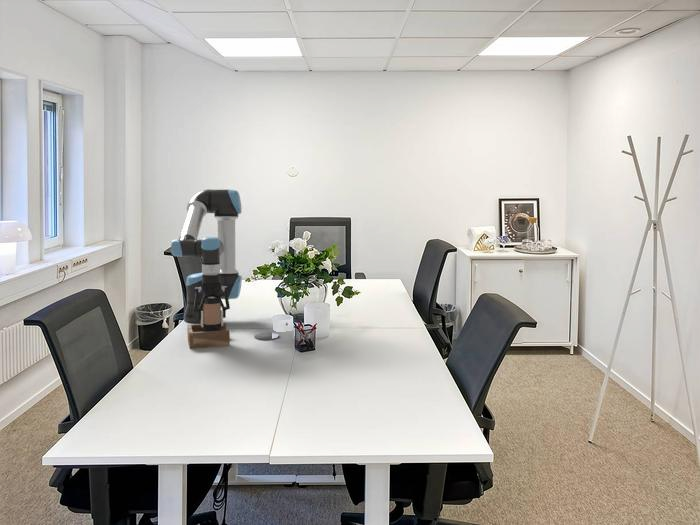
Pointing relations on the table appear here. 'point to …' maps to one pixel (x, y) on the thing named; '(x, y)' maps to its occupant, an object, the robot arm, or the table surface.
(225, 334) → the frame
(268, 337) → the coaster
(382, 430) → the table surface
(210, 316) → the travel mug
